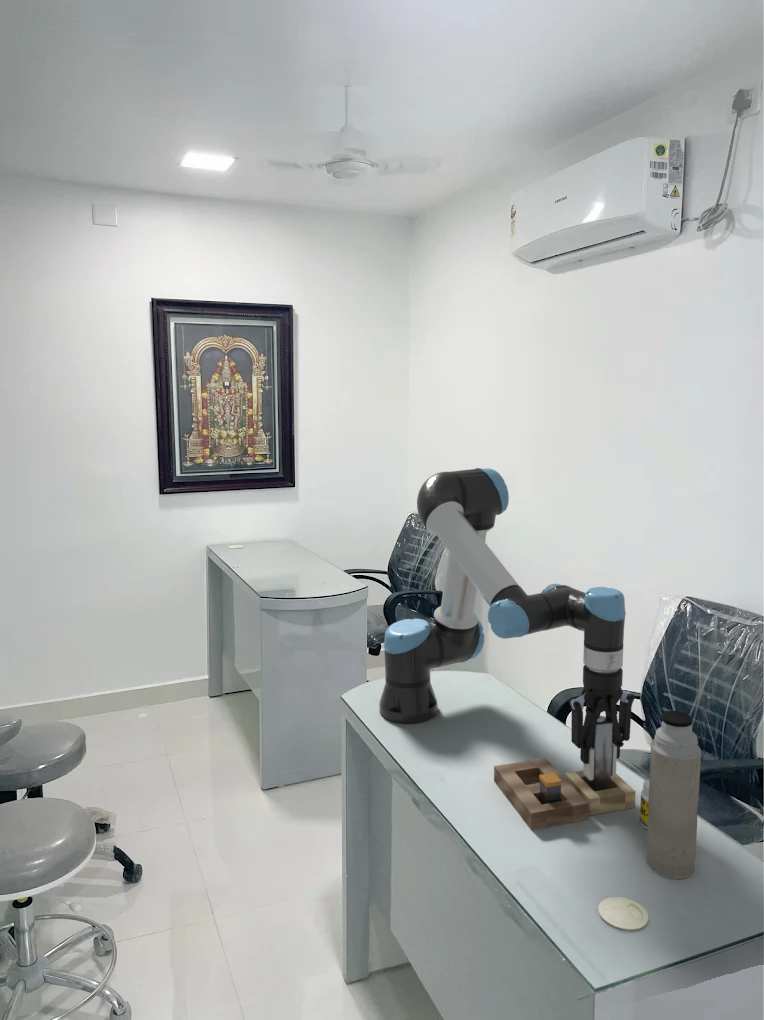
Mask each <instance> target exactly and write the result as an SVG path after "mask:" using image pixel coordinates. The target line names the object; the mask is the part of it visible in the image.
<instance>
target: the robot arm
mask: <svg viewBox="0 0 764 1020" xmlns="http://www.w3.org/2000/svg"><path fill="white" fill-rule="evenodd" d="M509 499H510V497H509V491H508V486H507V484H506V482H505V479H504V478H503V476H502V475H501V474H500V473H499V472H498V470H497V471H496V470H495V469H492V468H489V467H488V468H481V467H476V468H474V469H473V468H472V469H464V470H463V469H461V470H453V471H442V472H436V473H434V474H433V475H430V476H429V477H428V478H427V479H426V480H425V481H424V483H423V484H422V485H421V487H420V489H419V490H418V494H417V500H416V506H417V507H416V508H417V512H418V513H417V514H418V516H419V520H420V521H421V523H422V524H423V526H424V528H425V529H426V531H427V532H428V533H429V534H430V535H433V536H436V537H437V538H438V539H439V541H440V542H441V543H442V544H443V546H444V547H445V548H446V550H447V551H448V557H447V561H446V570H445V576H444V581H443V582H444V584H443V588H442V590H443V591H442V597H441V602H440V606H438V607H437V608H436V609H435V610H434V612H433V618H432V622H428V621H427V620H425V619H422V618H412V619H411V618H408V619H407V618H406V619H401V620H398V621H395V622H393V623H392V624H390V625H389V627H387V629H386V630H385V632H384V640H383V641H384V643H383V650H384V671H385V673H384V675H385V683H384V686H383V689H382V693H381V696H380V699H379V713H380V716H382V717H383V719H386V720H388V721H391V722H394V723H400V724H415V723H421V722H422V723H423V722H425V721H428V720H430V719H432V718H434V717H435V716H436V715H437V714H438V709H439V708H438V700H437V697H436V694H435V691H434V688H433V686H432V683H431V670H433V669H436V668H440V667H442V668H443V667H444V666H446V667H447V666H450V665H455V664H458V663H466V662H467V661H470V660H473V659H475V658H477V656H479V654H480V653H481V652H482V650H483V647H484V645H485V644H484V643H485V633H484V632H483V631H484V627H483V625H482V623H481V621H480V619H479V617H478V615H477V613H475V611H474V610H475V605H476V599H477V592H479V594H480V595H481V597H482V598H483V600H484V601H485V603H487V605H488V607H489V608H488V611H487V620H488V623H489V624H490V629H491V631H492V632H493V634H494V635H495V636H496V637H499V638H500V639H513V638H522V637H524V636H526V635H527V636H528V635H531V634H535V633H538V632H542V631H543V632H544V631H548V630H553V629H558V628H562V627H566V626H567V627H571V628H573V629H575V630H578V631H581V632H583V657H582V658H583V660H582V661H583V662H582V663H583V666H582V684H583V689H582V691H581V693H580V695H579V696H578V697H576V698H575V697H570V698H569V699H568V703H569V706H570V707H571V740H570V741H571V743H573V745H574V746H575V747H576V748H577V749H579V750H580V755H579V756H580V761H581V762H582V763H583V768H582V771H583V774H584V775H585V776H586V777H587V778H588V779H589V780H594V749H593V748H591V745H592V741H593V736H594V732H595V728H596V724H597V720H598V718H599V717H600V716H601V713H605V717H607V718H608V719H609V720H611V721H612V722H613V737H612V764H611V776H612V777H614V776H616V774H617V759H620V755H621V748H623V746H624V744H625V743H624V742H628V741H629V740H630V738H631V725H632V724H631V721H632V707H633V703H634V701H635V699H636V697H635V695H634V694H633V693H632V692H631V691H629V690H627V689H624V690H623V689H622V687H623V677H624V676H623V675H624V673H623V665H624V637H625V636H624V635H625V622H626V605H625V604H626V603H625V602H626V601H625V600H626V599H625V595H624V594H623V592H621V590H620V589H619V590H618V589H616V588H613V587H606V586H595V587H591V588H588V589H587V590H586V591H585V592H584V591H581V590H579V589H576V588H573V587H572V586H569V585H566V584H561V583H559V584H558V583H552V584H549V585H547V586H546V587H545V588H544V589H543V590H542V591H541V592H539V593H535V594H533V593H532V594H527V592H525V590H524V589H523V588H522V587H521V586H520V585H519V583H518V582H517V581H516V580H515V578H514V577H513V575H511V574H510V572H509V571H508V570H507V568H506V567H505V565H503V563H502V562H501V560H500V559H499V558H498V556H496V554H495V553H494V552H493V550H492V549H491V548H490V547H489V546H488V544H487V543H486V539H487V532H488V531H490V530H492V529H493V528H494V527H495V523H496V516H499V515H501V514H503V513H504V512H505V511H506V510H507V509H508V505H509V503H510V502H509ZM618 702H619V705H618V708H619V709H618V708H617V704H618ZM584 703H585V704H586V706H585V707H584ZM584 709H585V717H584V711H583V710H584Z"/></svg>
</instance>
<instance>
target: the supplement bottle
mask: <svg viewBox="0 0 764 1020" xmlns="http://www.w3.org/2000/svg"><path fill="white" fill-rule="evenodd" d="M648 803H649V779H646V780H645V781H644V782H643V785H642V791H641V794H640V808H639V823H640V825H641V826H642V828H645V830H647V828H648Z"/></svg>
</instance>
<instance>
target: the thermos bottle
mask: <svg viewBox="0 0 764 1020" xmlns="http://www.w3.org/2000/svg"><path fill="white" fill-rule="evenodd" d="M660 719H661V726H660V727H658V728H657V729H656V731H655V735H654V738H653V739H652V741H651V743H650V757H649V758H650V760H649V763H650V764H649V779H648V780H649V803H648V828H647V829H646V832H647V833H646V851H645V852H646V853H645V855H646V856H645V860H646V864H647V866H648V867H649V869H651V870H652V871H653V872H654V873H656V874H658V875H659V876H661V877H664V878H668V879H672V880H682V879H687V878H690V877H691V876H692V875H693V874H694V872H695V869H696V853H697V851H696V850H697V835H698V834H697V832H698V808H699V798H700V797H699V795H700V782H701V781H700V780H701V778H700V777H701V763H702V762H701V761H702V749H701V748H700V746H699V740H698V736H697V734H696V733H695V732H694V731H693V717H692V716H691V715H690V714H688V713H687V712H683V711H680V710H666V711H663V712H662V713H661V717H660Z"/></svg>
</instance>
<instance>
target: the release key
mask: <svg viewBox="0 0 764 1020" xmlns="http://www.w3.org/2000/svg"><path fill="white" fill-rule="evenodd" d="M539 779H540V803H541V804H542V805H543V804H548V803H554V802H560V801H561V785H562V781H561V779H560V778H559V777H558V776H557V775H556V774H555V773H549V774H543V775H539Z"/></svg>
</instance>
